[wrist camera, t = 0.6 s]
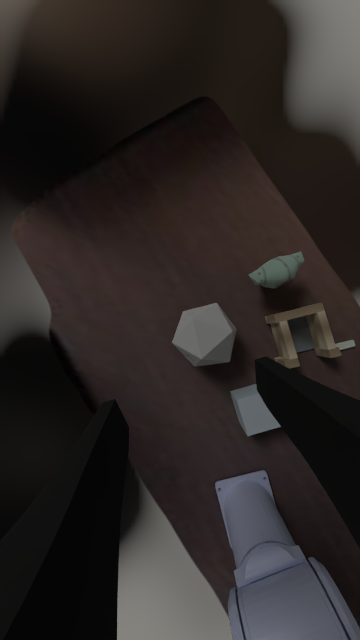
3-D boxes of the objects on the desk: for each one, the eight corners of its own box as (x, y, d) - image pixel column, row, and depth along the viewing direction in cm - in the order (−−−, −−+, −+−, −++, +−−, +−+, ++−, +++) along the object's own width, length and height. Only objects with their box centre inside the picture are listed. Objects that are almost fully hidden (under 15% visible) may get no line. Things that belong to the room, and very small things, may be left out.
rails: (373, 409, 29) (375, 410, 29) (345, 416, 29) (346, 417, 29) (351, 339, 30) (353, 339, 29) (323, 346, 30) (325, 347, 29)
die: (172, 312, 31) (153, 350, 24) (216, 283, 27) (211, 318, 19) (201, 345, 34) (193, 390, 26) (245, 324, 30) (252, 369, 22)
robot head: (281, 259, 31) (308, 239, 24) (292, 282, 31) (323, 268, 24) (237, 279, 31) (251, 265, 24) (247, 302, 31) (265, 294, 24)
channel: (345, 417, 29) (364, 427, 26) (294, 430, 29) (307, 441, 26) (310, 304, 30) (324, 301, 27) (262, 317, 30) (270, 315, 27)
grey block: (282, 409, 30) (297, 421, 26) (239, 422, 30) (247, 436, 26) (272, 378, 30) (285, 385, 26) (229, 390, 30) (236, 399, 26)
